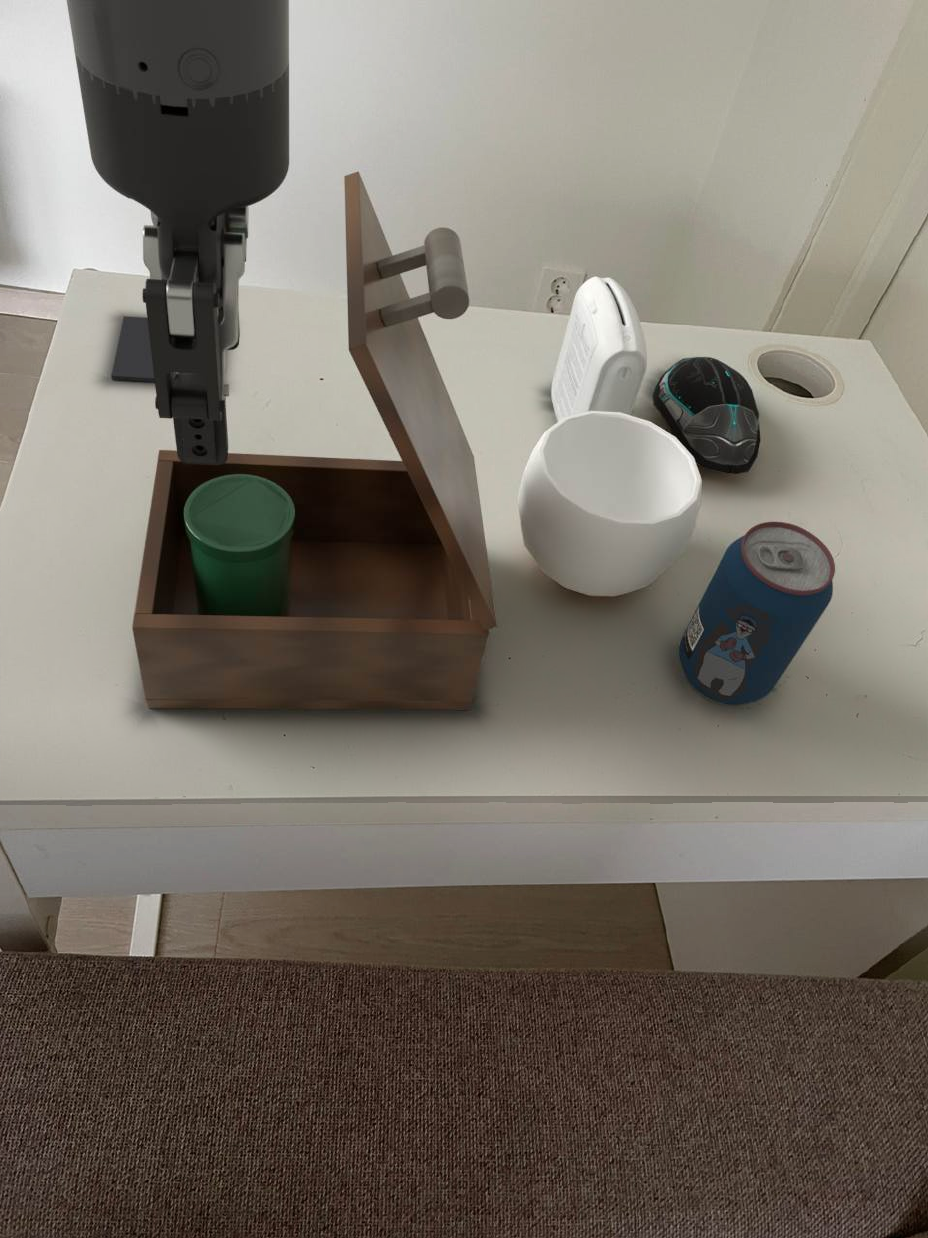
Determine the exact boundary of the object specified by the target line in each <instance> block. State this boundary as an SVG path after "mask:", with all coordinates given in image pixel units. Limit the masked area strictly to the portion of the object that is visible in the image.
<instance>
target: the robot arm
mask: <svg viewBox="0 0 928 1238" xmlns="http://www.w3.org/2000/svg"><path fill="white" fill-rule="evenodd" d="M66 6H67V13H68V19H69V26H70V31H71V38H72V44H73V49H74V56H75V57H74V58H75V63H76V69H77V75H78V82H79V83H78V84H79V90H80V95H81V101H82V107H83V108H82V109H83V113H84V121H85V127H86V133H87V139H88V144H89V153H90V158H91V161H92V164H93V167H94V169H95V171H96V172H97V174H98V175H99V177H100V178H101V179H102V180H103V181H104V183H106V184H107V185H108V186H109V187H110V188H111V189H112V190H114V191H115V192H117V193H119V194H120V195H122V196H123V197H126V198H127V199H130V200H133V201H135V203H137V204H140V205H142V206H143V207H145V208H146V209H147V210H149V211H150V218H151V223H152V225H150V224H144V225H143V230H142V260H143V263H144V266H145V267H146V269H147V270H148V272H149V278H146V280H145V284H144V285H145V286H144V288H142V293H141V294H142V303H143V304H145V311H146V318H147V319H148V328H149V336H150V345H151V354H152V362H153V371H154V379H155V382H154V389H155V399H154V400H155V401H154V405H155V406H154V407H155V409H156V410H157V412H158V413H157V414H158V418H159V419H172V421H173V430H174V437H175V438H174V439H175V447H176V451H177V456H178V458H179V460H181V461H182V462H184V463H187V464H202V465H222V464H224V463H225V462H226V461H227V457H228V453H229V435H228V421H227V420H228V419H227V405H226V404H227V397H229V396H230V384H229V383H227V352H228V351H233V350H236V349H237V348H238V347H239V345H240V338H241V328H240V310H239V305H240V303H239V299H240V297H239V295H240V294H239V293H240V292H239V290H240V288H239V286H240V285H239V284H240V283H239V282H240V279H241V278H242V277H243V275H244V274H245V270H246V263H247V251H248V250H247V247H248V246H247V243H248V238H249V219H250V216H249V215H250V208H249V207H250V206H252V205H255V204H258V203H259V202H261V201H263V200H265V199H266V198H268V197H270V196H271V195H272V194H273V193H275V192H276V191H277V190H278V189H279V188H280V186H281V185H282V184H283V183H284V181H285V179H286V177H287V175H288V171H289V167H290V0H66ZM190 373H193V374H190Z"/></svg>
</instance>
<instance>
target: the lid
mask: <svg viewBox="0 0 928 1238" xmlns="http://www.w3.org/2000/svg"><path fill="white" fill-rule="evenodd" d="M343 180H344V217H345V218H344V219H345V221H344V222H345V223H344V224H345V258H346V259H345V260H346V261H345V263H346V295H347V299H346V300H347V301H346V302H347V334H348V336H347V338H348V339H347V340H348V351H349V354H350V356H351V358H352V360H353V362H354V365H355V367H356V368H357V370H358V373H359V375H360V377H361V379H362V381H363V383H364V385H365V387H366V389H367V392H368V394H369V396H370V397H371V399H372V402H373V403H374V405H375V407H376V410H377V412H378V414H379V417H380V418H381V420H382V422H383V424H384V427H385V428H386V431H387V432H388V435H389V436H390V439H391V441H392V443H393V445H394V447H395V449H396V451H397V453H398V456H399V457H400V460H401V461H403V463H404V465H405V468H406V470H407V472H408V474H409V476H410V478H411V480H412V482H413V484H414V486H415V488H416V490H417V492H418V494H419V496H420V499H421V501H422V503H423V505H424V507H425V509H426V511H427V513H428V515H429V517H430V519H431V521H432V523H433V525H434V527H435V529H436V532H437V534H438V536H439V538H440V540H441V542H442V544H443V546H444V548H445V550H446V552H447V554H448V556H449V558H450V560H451V563H452V565H453V567H454V569H455V571H456V573H457V575H458V577H459V579H460V581H461V583H462V585H463V587H464V589H465V591H466V594H467V596H468V598H469V600H470V602H471V604H472V606H473V608H474V610H475V612H476V614H477V616H478V618H479V620H480V622H481V625H482V627H483V629H484V630H488V629H489V630H491V629H495V628H498V622H497V615H496V607H495V600H494V593H493V586H492V578H491V571H490V565H489V563H490V562H489V558H488V557H489V556H488V549H487V541H486V536H485V528H484V521H483V513H482V506H481V505H482V504H481V497H480V491H479V483H478V476H477V469H476V461H475V456H474V454H473V451H472V448H471V446H470V444H469V441H468V439H467V436H466V433H465V432H464V431H465V430H464V429H463V426H462V424H461V422H460V418H459V416H458V414H457V412H456V408H455V406H454V404H453V401H452V399H451V397H450V394H449V391H448V388H447V386H446V384H445V382H444V379H443V377H442V374H441V372H440V369H439V367H438V364H437V362H436V359H435V357H434V354H433V352H432V350H431V348H430V345H429V342H428V340H427V337H426V335H425V332H424V330H423V327H422V324H421V322H420V320H419V318H421V317H424V316H427V315H431V314H433V313H434V314H435V315H436V316H437V317H439V318H441V319H443V320H455V319H457V318H460V317H461V316H463V315H464V314H465V313H466V312H467V311H468V308H469V306H470V296H469V289H468V283H467V277H466V269H465V263H464V257H463V250H462V244H461V239H460V237H459V235H458V234H457V232H456V231H455V230H453V229H451V228H449V227H443V226H442V227H437V228H434V229H432V230H431V231H429V232H428V234H427V235H426V236H425V238H424V241H423V245H421V246H417V247H414V248H412V249H408V250H406V251H403V252H400V253H396V254H393V252H392V251H391V248H390V246H389V243H388V241H387V238H386V236H385V233H384V231H383V228H382V225H381V222H380V221H379V218H378V215H377V213H376V210H375V207H374V205H373V204H372V201H371V198H370V196H369V193H368V191H367V188H366V186H365V184H364V181H363V178H362V176H361V174H360V172H359V171H355V172H352V173H350V174H346V175H344V179H343ZM422 267H426V276H427V285H428V292H427V293H423V294H420V295H417V296H414V297H410V295H409V292H408V290H407V287H406V285H405V283H404V280H403V278H402V275H401V274H403V273H407V272H410V271H413V270H416V269H419V268H422Z"/></svg>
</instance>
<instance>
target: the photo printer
mask: <svg viewBox="0 0 928 1238" xmlns="http://www.w3.org/2000/svg"><path fill="white" fill-rule="evenodd" d="M565 329H566V330H565V333H564V337H563V341H562V345H561V348H560V352H559V356H558V359H557V363H556V367H555V371H554V374H553V378H552V383H551V391H550V394H551V395H550V396H551V402H552V406H553V410H554V414H555V419H556V421H557V422H559V421H560V420H561V419H563V418H564V417H568V416H572V415H576V414H580V413H584V412H588V411H603V412H621V413H624V414H627V415H631V416H632V413H633V409H634V406H635V404H636V401H637V398H638V395H639V393H640V389H641V387H642V383H643V381H644V377H645V375H646V373H647V367H648V351H647V344H646V338H645V334H644V331H643V327H642V325H641V321H640V318H639V315H638V312H637V310H636V308H635V305H634V304H633V301H632V299H631V297H630V296H629V294H628V293H627V292H626V290H625V289H624V288H623V287H622V286H621V284H619V283H618V282H617V281H616V280H614V279H613V278H611V277H610V276H608V277H599V276H595V275H594V276H593V277H591V278H589V279H587V280H585V282H583V283H582V284H581V285H580V287H579V288H578V290H577V291H576V293H575V296H574V299H573V303H572V306H571V310H570V314H569V318H568V322H567V326H566V328H565ZM557 422H556V423H557Z"/></svg>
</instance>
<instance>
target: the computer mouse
mask: <svg viewBox="0 0 928 1238" xmlns="http://www.w3.org/2000/svg"><path fill="white" fill-rule="evenodd" d="M652 400H653V406H654V407H655V408H656V409H657V411H658V412H659V413H660V415H661V416H662V418H663V420H664V421H665V423H666V425H667V427H668V429H669V431H670V432H671V433H672V435H673V436H675V437H676V438H677V439H678V440H679V441H680V443H681V444H682V445H683V446H684V447H685V448H686V449H687V450H688V451H689V453H690V454H691V455H692V456H693V457H694V459H695V462H696V465H697V466H699V467H700V468H703V469H706V470H709V471H714V472H716V473H717V472H718V473H721V474H730V475H739V474H743V473H748V472H750V470H751V468H752V466H753V464H754V463H755V462H756V460H757V459H758V455H759V452H760V451H759V450H760V446H761V440H762V439H761V438H762V437H761V429H760V412H759V409H758V407H757V402H756V399H755V396H754V392H753V389H752V388H751V385H750V383H749V382H748V380H747V379H746V378H745V377H744V376H743V375H742V374H741V373H740V372H739V371H737V370H736V369H734V368H732V367H731V366H729V365H728V364H726V363H725V362H723V361H721V360H719V359H718V358H713V357H711V356H710V357H709V356H693V357H684V358H681V359H680V360H678V361H677V362H675V363H674V364H672V365H671V366H670V367H669V368H668V369H667V370H665V372H664V373H663V374H662V375H661V377H660V378H659V380H658V381H657V383H656V385H655V387H654V390H653V393H652Z"/></svg>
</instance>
